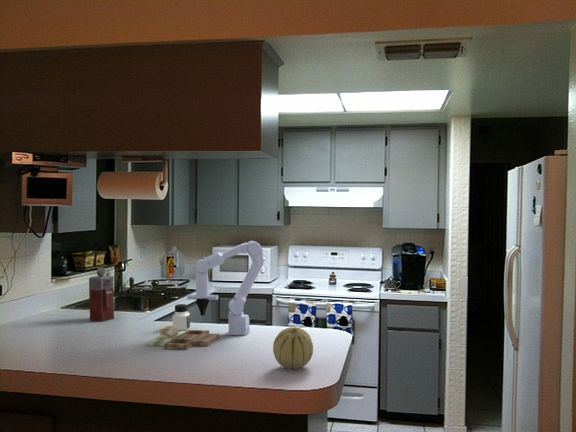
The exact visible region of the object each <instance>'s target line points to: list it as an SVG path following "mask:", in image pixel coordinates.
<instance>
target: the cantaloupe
mask: <svg viewBox="0 0 576 432" xmlns="http://www.w3.org/2000/svg"><path fill="white" fill-rule="evenodd" d="M272 350H273V351H272V352H273V355H274V358H275V360H276V361H277V362H276V363H278V365H279V366H281V367H283V368H285V369H287V370H298V369H301V368H304V367H305V366H306V365H308V363H310V361H311V359H312V357H313V355H314V345H313V339H312V338H311V336H310V334H309V333H308V332H307V331H306V330H304V329H302V328H301V327H296V326H295V327H294V326H292V327H287V328H285V329H281V330H280V332H278V333H277V335H276V336H275V338H274V341H273V345H272Z"/></svg>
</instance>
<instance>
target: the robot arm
mask: <svg viewBox="0 0 576 432" xmlns="http://www.w3.org/2000/svg"><path fill="white" fill-rule="evenodd" d="M263 252H264V251H263V248H262V245H261V244H260V243H259V242H257V241H255V240H249V241H248V242H243V243H241V244H238V245H236V246H234V247H232V248H230V249H228V250H226V251H224V252H219V251H218V252H215V251H214V252H212V254H210V255H208V256H204V257H203V259H198V260H196V263H195V265H194V267H195V270H196V271H195V292H196V293H195V294H187V295H186V300H188V301H189V300H195V304H196V306H197V307H198V310H199V313H200V316H201V317H202V316H203V317H205V316H206V311H207V308H208V305H209V303H210V301H211V300H212V301H213V300H215V301H217V300H219V295H218V294H210V291H209V289H210V288H209V275H208V273H209V272H208V271H209V269H214V268H216V267H218V266H220V265H222V264H224V262H225V260H227V259H229V258H232V257H234V256H236V255H239V254H245V255H246V254H248V255H249V257H250V259H251V264H250V266H249V269H248V271H247V272H246V275H245V277H244V279H243V280H242V283H241V284H240V286H239V288H238V289H237V292H236V293H235V294H234V296H233V297H232V299H230V300H229V302H228V305H227V306H228V308H229V312H228V313H227V314H228V315H227V316H228V332H226V333H225V335H226V336H230V335H231V336H246V335H247V334H248V333H250V332H251V330H250V316H249V315H248V314H245V313H244V307H245V303H246V301H247V297H248V295H249V293H250V291H251V288H252V287H253V285H254V284H255V282H256V279H257V278H258V275H259V273H260V271H261V270H262V267H263V265H264V253H263Z"/></svg>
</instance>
